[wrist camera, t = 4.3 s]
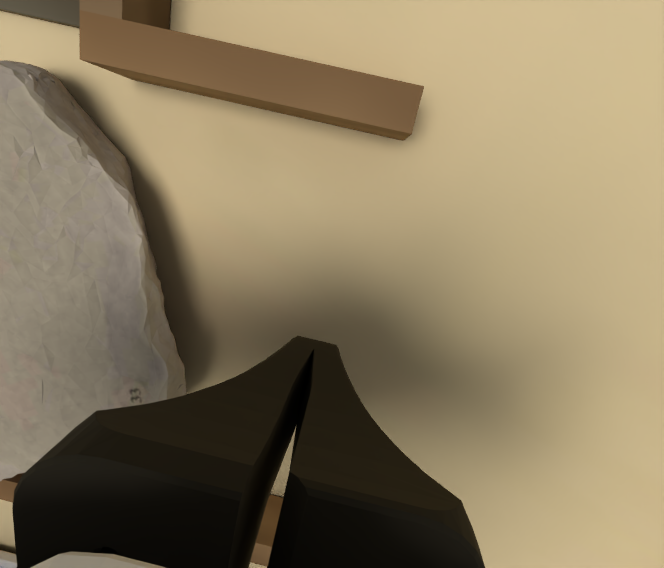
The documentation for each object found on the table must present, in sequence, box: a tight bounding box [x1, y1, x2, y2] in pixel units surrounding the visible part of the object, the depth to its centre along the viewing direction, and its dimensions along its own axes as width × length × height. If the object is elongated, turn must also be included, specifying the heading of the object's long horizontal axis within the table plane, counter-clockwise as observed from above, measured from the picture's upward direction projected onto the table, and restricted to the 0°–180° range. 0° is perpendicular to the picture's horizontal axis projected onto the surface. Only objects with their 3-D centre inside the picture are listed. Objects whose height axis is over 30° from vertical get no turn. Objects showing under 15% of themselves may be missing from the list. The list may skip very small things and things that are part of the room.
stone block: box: [0, 61, 187, 481], centre depth 12 cm, size 12×5×10 cm
